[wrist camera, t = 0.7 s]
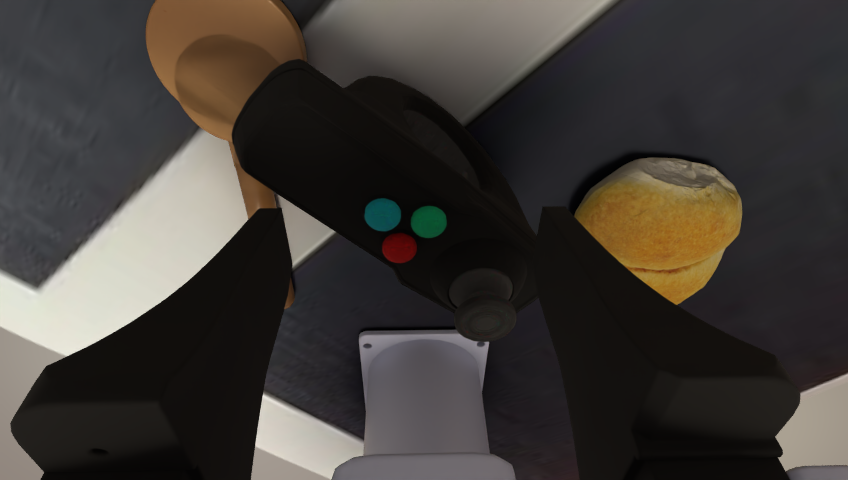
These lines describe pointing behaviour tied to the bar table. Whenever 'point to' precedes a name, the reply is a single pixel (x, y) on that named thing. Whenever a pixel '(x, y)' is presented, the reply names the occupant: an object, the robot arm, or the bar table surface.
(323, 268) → the bar table surface
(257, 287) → the robot arm
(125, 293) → the bar table surface
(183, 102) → the spoon
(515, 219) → the controller
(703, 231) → the bread roll
